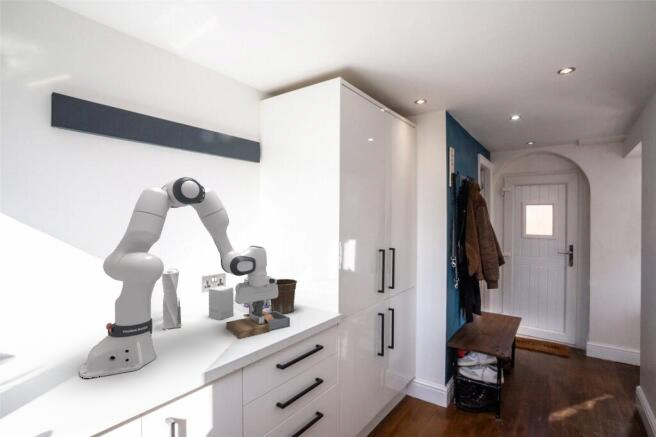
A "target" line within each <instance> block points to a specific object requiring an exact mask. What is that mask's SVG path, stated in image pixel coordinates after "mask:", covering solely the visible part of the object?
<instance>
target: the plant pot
mask: <svg viewBox="0 0 656 437" xmlns="http://www.w3.org/2000/svg"><path fill="white" fill-rule="evenodd" d="M276 279H277V278H276ZM297 283H298V280H297V279H293V278H278V279H277V283H276V284H277V286H278V297H277V298H273V299H270V309H271V311H270V312H273V311H277V312H279V313H281V314H283V315H285V314H289V313H292V312H294V309H295V297H296V288H297Z"/></svg>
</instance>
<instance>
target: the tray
mask: <svg viewBox="0 0 656 437" xmlns="http://www.w3.org/2000/svg"><path fill="white" fill-rule="evenodd" d="M266 312H267V311H266ZM267 313H268V314H270V315H272V317H273V318H274V321H270V322H268V325H269V332H272V331H276V330H280V329H285V328H288V327H290V326H291V324H290V323H291V318H290V317H289V316H287V315H285V314H281V313H279V312H277V311H273V312H272V311H268V312H267ZM264 322H265V321H264Z"/></svg>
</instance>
